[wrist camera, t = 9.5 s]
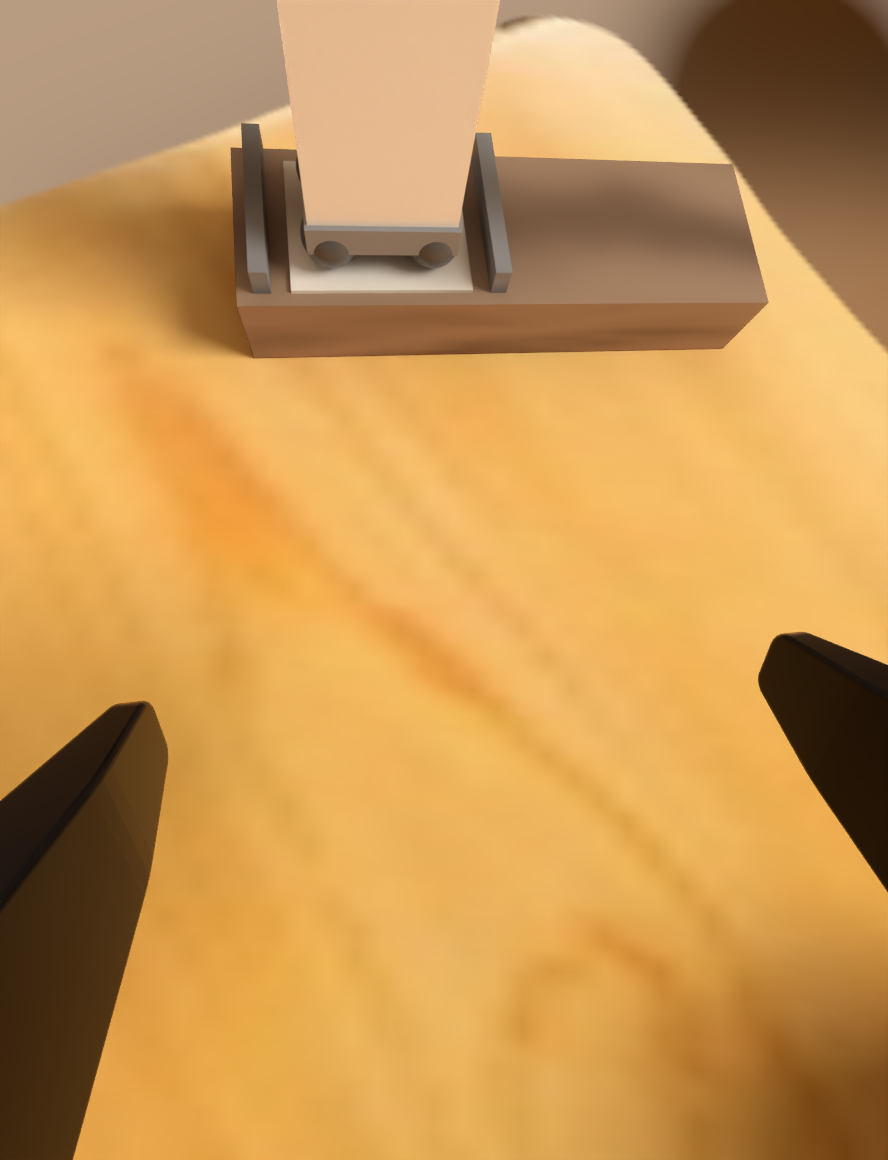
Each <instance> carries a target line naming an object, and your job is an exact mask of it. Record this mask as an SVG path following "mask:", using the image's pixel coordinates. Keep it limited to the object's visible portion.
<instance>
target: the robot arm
mask: <svg viewBox="0 0 888 1160" xmlns="http://www.w3.org/2000/svg"><path fill="white" fill-rule="evenodd" d="M758 683H759V687H760V690H761V692H762V694H763V696H764V698H765V699H766V701H767V703H768V705H769V707H770V708H771V710H772V712H773V714H774V716H775V717H776V719H777V721H778V723H779V725H780V726H781V728H782V730H783V732H784V733H785V735H786V737H787V739H788V741H789V742H790V744H791V746H792V748H793V750H794V751H795V753H796V755H797V757H798V758H799V760H800V762H801V764H802V766H803V767H804V769H805V771H806V772H807V774H808V776H809V777H810V779H811V781H812V782H813V784H814V785H815V787H816V788H817V790H818V791H819V793H820V794H821V796H822V797H823V799H824V800H825V802H826V803H827V804H828V806H829V807H830V809H831V810H832V812H833V813H834V815H835V816H836V818H837V819H838V820H839V822H840V823H841V825H842V826H843V828H844V829H845V831H846V832H847V834H848V835H849V837H850V838H851V839H852V841H853V842H854V844H855V845H856V847H857V848H858V850H859V851H860V853H861V854H862V855H863V857H864V858H865V860H866V861H867V863H868V864H869V866H870V867H871V869H872V870H873V871H874V873H875V874H876V876H877V877H878V879H879V880H880V882H881V883H882V885H883V886H884V888H885V889H886V890H887V892H888V665H887V664H884V663H882V662H879V661H877V660H874V659H872V658H869V657H867V656H864V655H862V654H859V653H857V652H854V651H852V650H849V649H847V648H844V647H842V646H839V645H837V644H834V643H832V642H829V641H827V640H824V639H822V638H819V637H817V636H814V635H812V634H809V633H806V632H795V633H785V634H780V635H778V636H776V637H775V638H774V639H773V641H772V642H771V645H770V647H769V650H768V652H767V655H766V657H765V660H764V662H763V664H762V667H761V669H760V672H759V675H758ZM167 765H168V748H167V743H166V741H165V738H164V735H163V732H162V730H161V727H160V724H159V721H158V719H157V716H156V713H155V710H154V708H153V706H152V705H151V704H150V703H149V702H146V701H138V702H129V703H120V704H116V705H113V706H112V707H110V708H109V709H107V710H106V711H105V712H104V713H103V714H102V715H100V716H99V717H98V718H97V719H96V720H95V721H93V722H92V723H91V724H90V725H89V726H88V727H86V728H85V729H84V730H83V731H82V732H81V733H79V734H78V735H77V736H76V737H75V738H73V739H72V740H71V741H70V742H69V743H68V744H66V745H65V746H64V747H63V748H62V749H61V750H59V751H58V752H57V753H56V754H55V755H54V756H52V757H51V758H50V759H49V760H48V761H46V762H45V763H44V764H43V765H42V766H41V767H39V768H38V769H37V770H36V771H35V772H34V773H32V774H31V775H30V776H29V777H28V778H27V779H25V780H24V781H23V782H22V783H21V784H19V785H18V786H17V787H16V788H15V789H14V790H12V791H11V792H10V793H9V794H8V795H7V796H5V797H4V798H3V799H2V800H1V801H0V1160H73V1157H74V1154H75V1150H76V1146H77V1143H78V1139H79V1135H80V1132H81V1128H82V1124H83V1121H84V1117H85V1113H86V1110H87V1106H88V1102H89V1099H90V1095H91V1091H92V1088H93V1084H94V1080H95V1077H96V1073H97V1069H98V1066H99V1062H100V1058H101V1055H102V1051H103V1047H104V1044H105V1040H106V1036H107V1033H108V1029H109V1025H110V1022H111V1018H112V1015H113V1011H114V1007H115V1004H116V1000H117V996H118V993H119V989H120V985H121V982H122V978H123V974H124V971H125V967H126V963H127V960H128V956H129V952H130V949H131V945H132V941H133V938H134V934H135V930H136V927H137V923H138V919H139V916H140V912H141V908H142V905H143V901H144V897H145V893H146V889H147V885H148V881H149V877H150V872H151V866H152V861H153V855H154V848H155V842H156V835H157V829H158V823H159V816H160V810H161V803H162V797H163V790H164V784H165V778H166V771H167Z"/></svg>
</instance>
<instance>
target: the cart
mask: <svg viewBox="0 0 888 1160" xmlns="http://www.w3.org/2000/svg"><path fill="white" fill-rule="evenodd" d="M499 3H500V0H277V7H278V15H279V22H280V30H281V37H282V44H283V52H284V58H285V67H286V73H287V81H288V88H289V96H290V103H291V111H292V118H293V126H294V133H295V140H296V148H297V155H296V171H297V175H298V178H299V181H300V183H301V191H302V205H303V218H302V221H301V225H300V236H301V241H302V244H303V247H304V249H305V251H306V252H307V254H308V255H309V256H310V258H311V259H312V260H313V261H315V262H316V263H317V264H319V265H321V266H323V267H327V268H339V267H342V266H344V265H346V264H347V263H349V262H350V261H351V260H352V258H353V257H354V256H355V255H411V257H412V258H413V259H414V260H415V261H416V262H417V263H418V264H420V265H421V266H423V267H426V268H432V269H434V268H440V267H443V266H445V265H447V264H448V263H449V262H450V261H451V260H452V259H453V258H454V257H455V256H458V251H459V246H460V242H461V235H462V229H461V222H460V216H461V211H462V205H463V200H464V194H465V189H466V183H467V178H468V172H469V167H470V161H471V156H472V150H473V145H474V140H475V134H476V129H477V123H478V118H479V112H480V107H481V101H482V96H483V90H484V85H485V79H486V74H487V69H488V63H489V58H490V52H491V47H492V41H493V36H494V30H495V25H496V19H497V14H498V8H499Z"/></svg>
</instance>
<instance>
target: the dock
mask: <svg viewBox="0 0 888 1160" xmlns="http://www.w3.org/2000/svg"><path fill="white" fill-rule="evenodd" d="M241 130H242V148H231V171H232V197H233V223H234V249H235V275H236V301H237V309H238V311H239V314H240V317H241V320H242V323H243V326H244V329H245V332H246V335H247V338H248V341H249V344H250V347H251V350H252V353H253V355H254V358H273V357H322V356H372V355H421V354H470V353H520V352H569V351H618V350H667V349H717V348H724V347H725V346H726V345H727V344H728V343H729V342H730V341H731V340H732V339H733V338H734V337H735V336H736V335H737V334H738V333H739V332H740V331H741V330H742V329H743V328H744V327H745V326H746V325H747V324H748V323H749V322H750V321H751V320H752V319H753V318H754V317H755V316H756V315H757V314H758V313H759V312H760V311H761V310H762V309H763V308H764V306H765V305H766V304H767V303H768V299H767V295H766V291H765V287H764V283H763V280H762V276H761V272H760V268H759V264H758V260H757V256H756V253H755V249H754V245H753V241H752V237H751V233H750V229H749V226H748V222H747V218H746V214H745V210H744V206H743V202H742V199H741V195H740V191H739V187H738V183H737V179H736V175H735V172H734V168H733V164H706V163H676V162H646V161H616V160H586V159H556V158H526V157H496V156H494V150H493V143H492V137H491V133H476V134H475V140H474V145H473V150H472V156H471V161H470V167H469V172H468V178H467V183H466V189H465V194H464V200H463V205H462V211H461V216H460V222H461V229H462V235H461V242H460V246H459V251H458V256H455V257H454V258H453V259H452V260H451V261H450V262H449V263H448V264H447V265H445V266H443V267H440V268H434V269H432V268H426V267H423V266H421V265H420V264H418V263H417V262H416V261H415V260H414V259H413V258H412V257H411V255H355V256H354V257H353V258H352V260H351V261H350V262H349V263H347V264H346V265H344V266H342V267H339V268H327V267H323V266H321V265H319V264H317V263H316V262H315V261H313V260H312V259H311V258H310V256H309V255H308V254H307V252H306V251H305V249H304V247H303V244H302V241H301V236H300V225H301V221H302V218H303V205H302V191H301V183H300V181H299V178H298V175H297V171H296V155H297V150H287V149H263V144H262V139H261V134H260V129H259V124H244V123H241Z"/></svg>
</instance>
